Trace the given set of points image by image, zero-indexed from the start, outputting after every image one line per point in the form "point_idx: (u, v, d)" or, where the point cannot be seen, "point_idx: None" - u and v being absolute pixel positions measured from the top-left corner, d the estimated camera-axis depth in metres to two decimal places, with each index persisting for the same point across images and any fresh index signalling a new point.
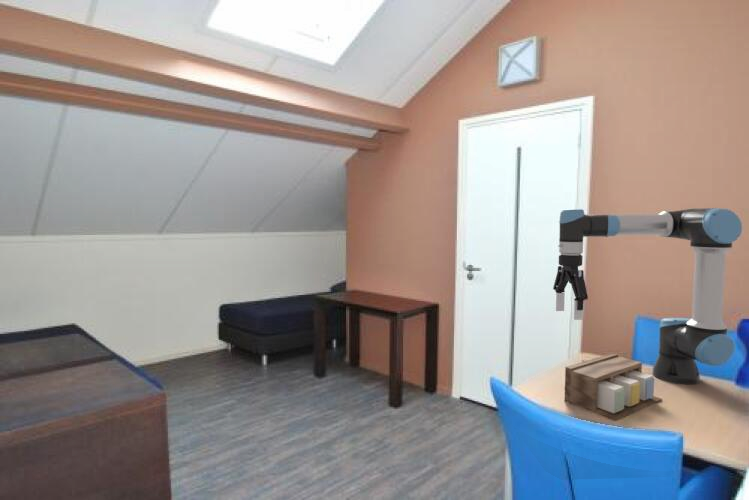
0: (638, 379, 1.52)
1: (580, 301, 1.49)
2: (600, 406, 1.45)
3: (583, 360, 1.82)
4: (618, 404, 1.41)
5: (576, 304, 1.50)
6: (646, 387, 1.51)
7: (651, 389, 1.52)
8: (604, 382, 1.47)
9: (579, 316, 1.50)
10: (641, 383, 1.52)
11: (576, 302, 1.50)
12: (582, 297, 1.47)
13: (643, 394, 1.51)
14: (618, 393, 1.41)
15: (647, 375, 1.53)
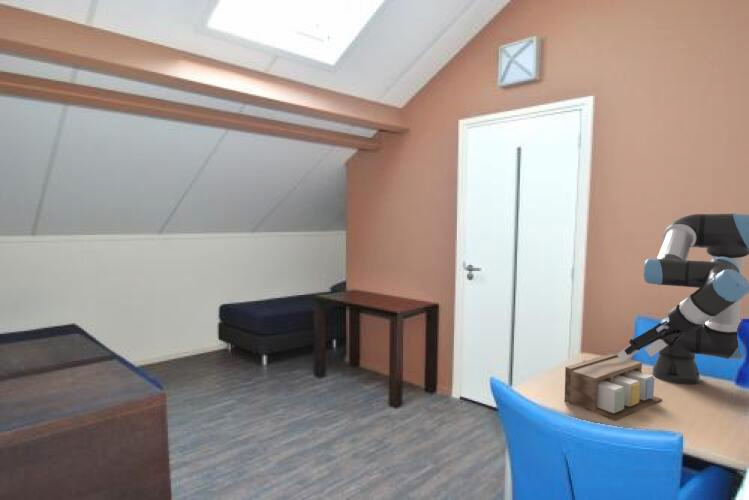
0: (638, 379, 1.52)
1: None
2: (600, 406, 1.45)
3: (584, 360, 1.82)
4: (618, 404, 1.41)
5: None
6: (646, 387, 1.51)
7: (651, 389, 1.52)
8: (604, 382, 1.47)
9: None
10: (641, 383, 1.52)
11: None
12: None
13: (643, 394, 1.51)
14: (618, 393, 1.41)
15: (647, 375, 1.53)
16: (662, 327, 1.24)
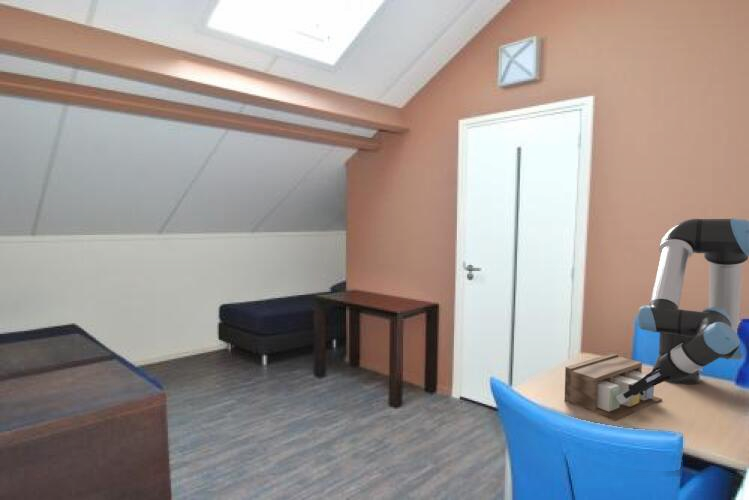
0: (638, 379, 1.52)
1: None
2: None
3: None
4: (613, 403, 1.43)
5: None
6: None
7: (651, 389, 1.52)
8: (600, 381, 1.48)
9: None
10: None
11: None
12: None
13: None
14: (613, 391, 1.42)
15: None
16: (648, 379, 1.28)
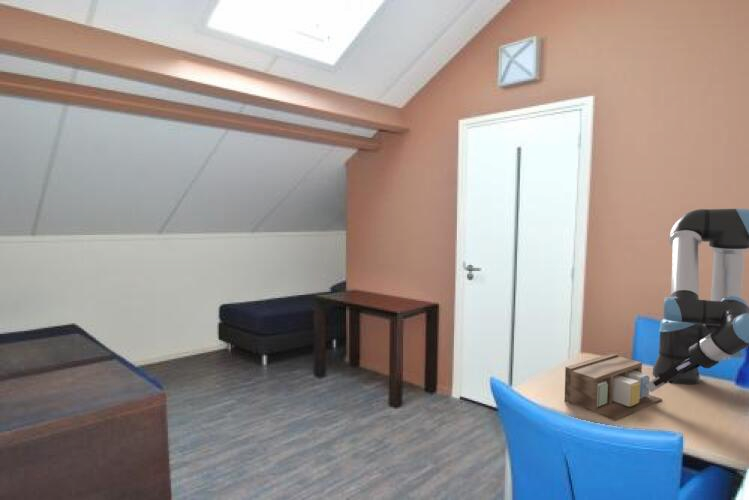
0: (633, 378, 1.54)
1: None
2: None
3: None
4: (601, 398, 1.46)
5: None
6: (641, 386, 1.52)
7: (646, 388, 1.53)
8: None
9: None
10: None
11: None
12: None
13: None
14: (601, 387, 1.46)
15: (642, 374, 1.55)
16: (679, 368, 1.38)
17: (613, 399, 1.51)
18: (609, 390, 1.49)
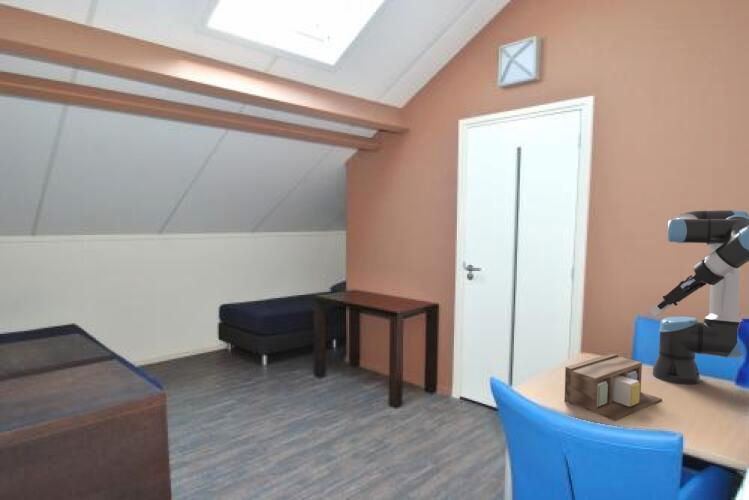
0: None
1: None
2: None
3: None
4: (601, 398, 1.46)
5: None
6: None
7: None
8: None
9: None
10: None
11: None
12: None
13: None
14: (601, 387, 1.46)
15: (630, 370, 1.58)
16: (684, 285, 1.37)
17: (613, 399, 1.51)
18: (609, 390, 1.49)
